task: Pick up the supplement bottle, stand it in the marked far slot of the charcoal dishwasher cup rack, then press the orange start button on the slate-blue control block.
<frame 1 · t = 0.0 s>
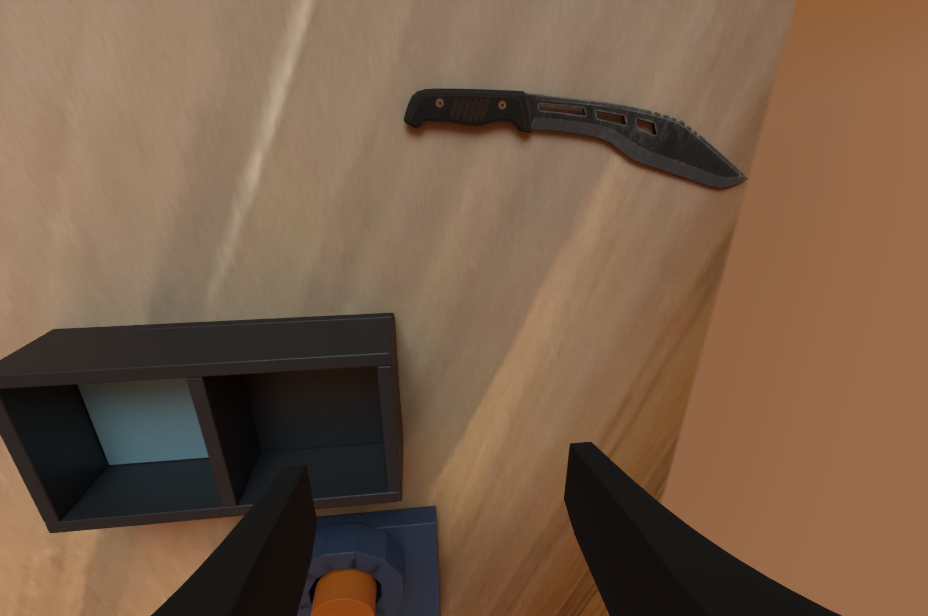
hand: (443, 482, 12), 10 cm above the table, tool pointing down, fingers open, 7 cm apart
control block: (372, 566, 27), on the table
rack: (246, 392, 22), on the table
knife: (582, 180, 19), on the table
start button: (344, 603, 23), point 3 cm above the table, slide at 0.1 cm
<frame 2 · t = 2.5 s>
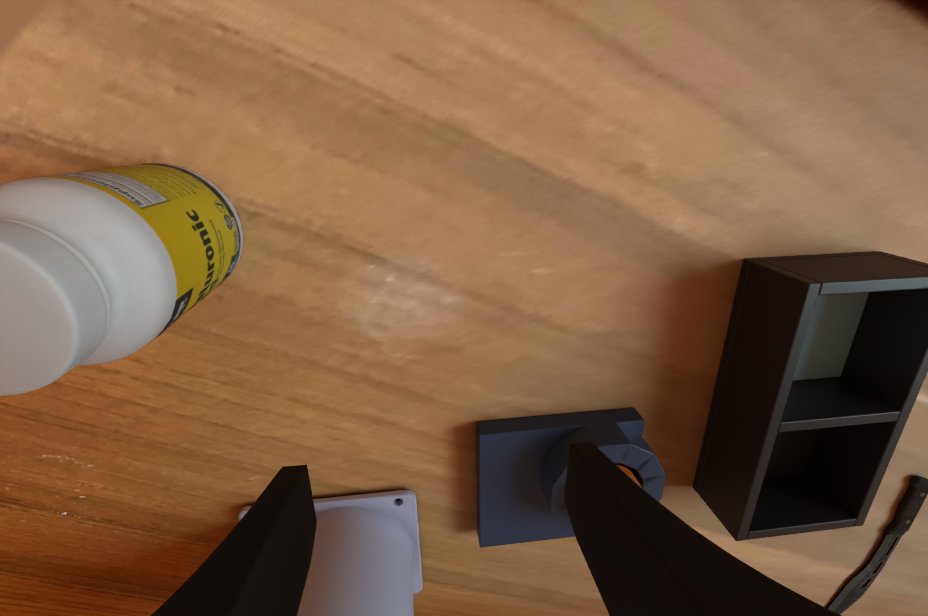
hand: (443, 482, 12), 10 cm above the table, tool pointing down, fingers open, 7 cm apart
control block: (552, 471, 26), on the table
rack: (777, 380, 26), on the table
knife: (849, 561, 32), on the table
supplement bottle: (181, 228, 19), on the table
start button: (612, 500, 23), point 3 cm above the table, slide at 0.1 cm
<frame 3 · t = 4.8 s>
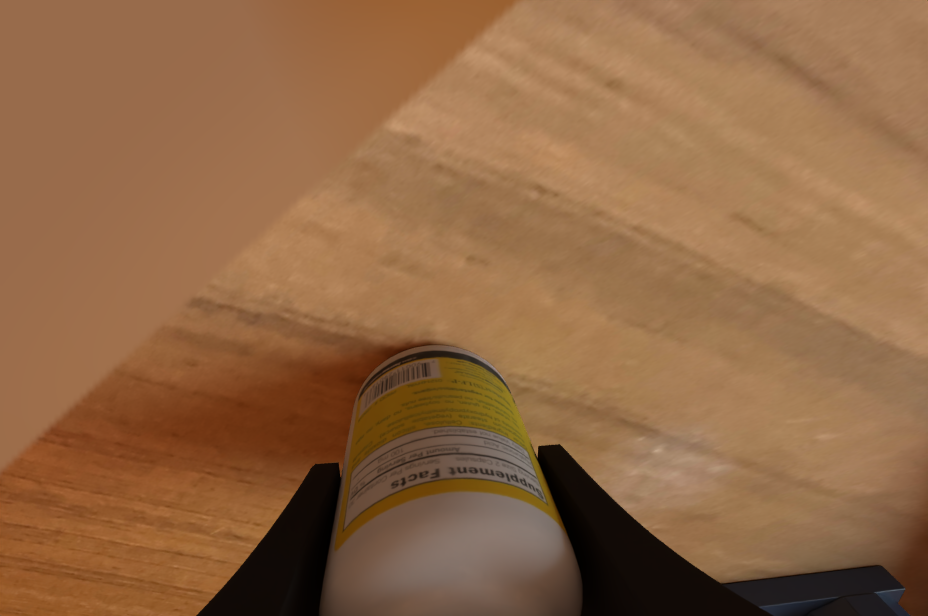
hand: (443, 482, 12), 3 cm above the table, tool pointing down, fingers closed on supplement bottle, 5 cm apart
supplement bottle: (434, 405, 16), on the table, touching gripper
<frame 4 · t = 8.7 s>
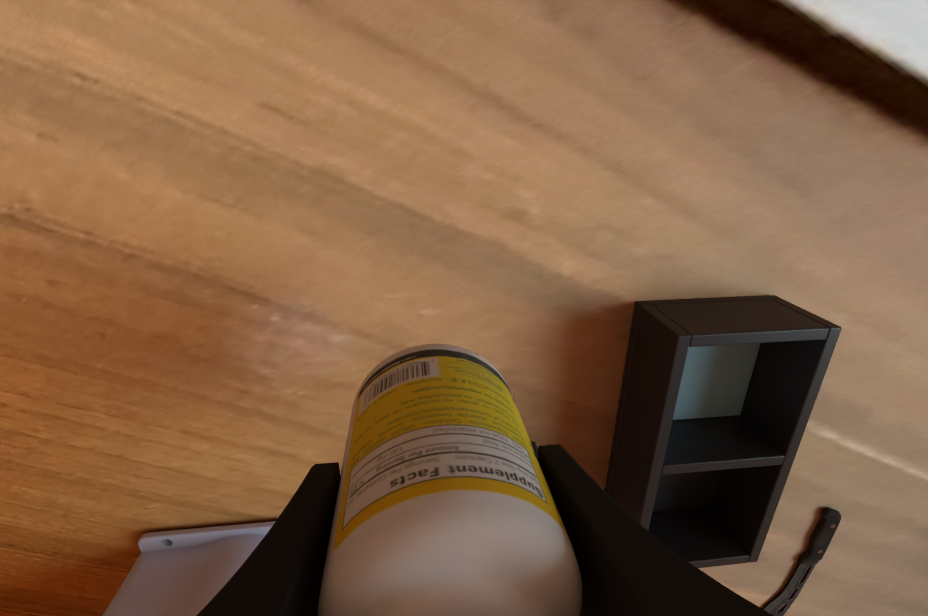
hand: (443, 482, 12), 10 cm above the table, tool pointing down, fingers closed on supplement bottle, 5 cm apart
rack: (679, 416, 26), on the table
knife: (764, 587, 33), on the table
supplement bottle: (434, 404, 16), point 7 cm above the table, touching gripper
when the fingers open (4 cm above the table, at t = 12.9 s): supplement bottle stays where it is, resting on rack.
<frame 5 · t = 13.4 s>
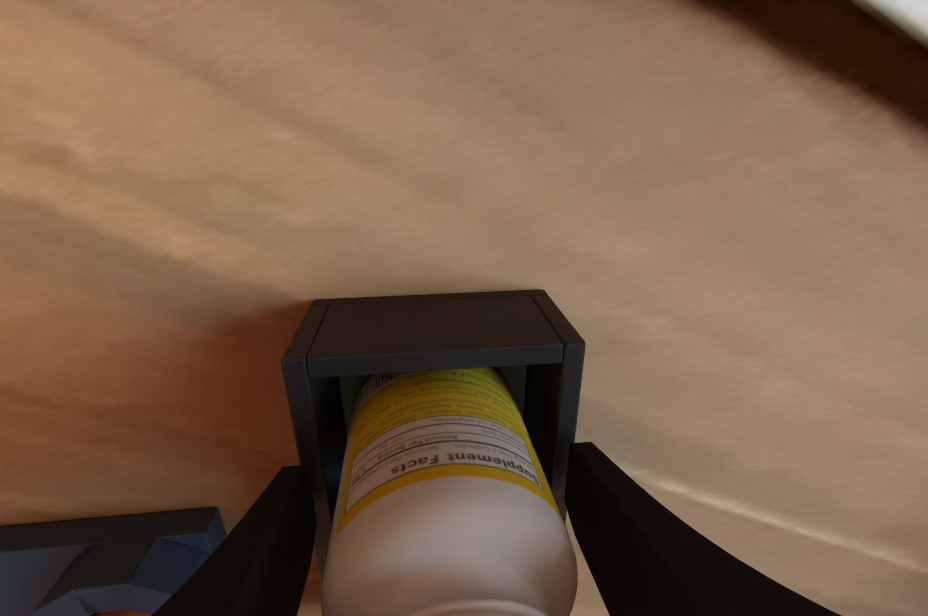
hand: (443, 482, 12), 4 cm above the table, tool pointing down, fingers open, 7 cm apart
control block: (124, 589, 18), on the table
rack: (437, 468, 18), on the table
supplement bottle: (434, 398, 16), point 1 cm above the table, touching rack
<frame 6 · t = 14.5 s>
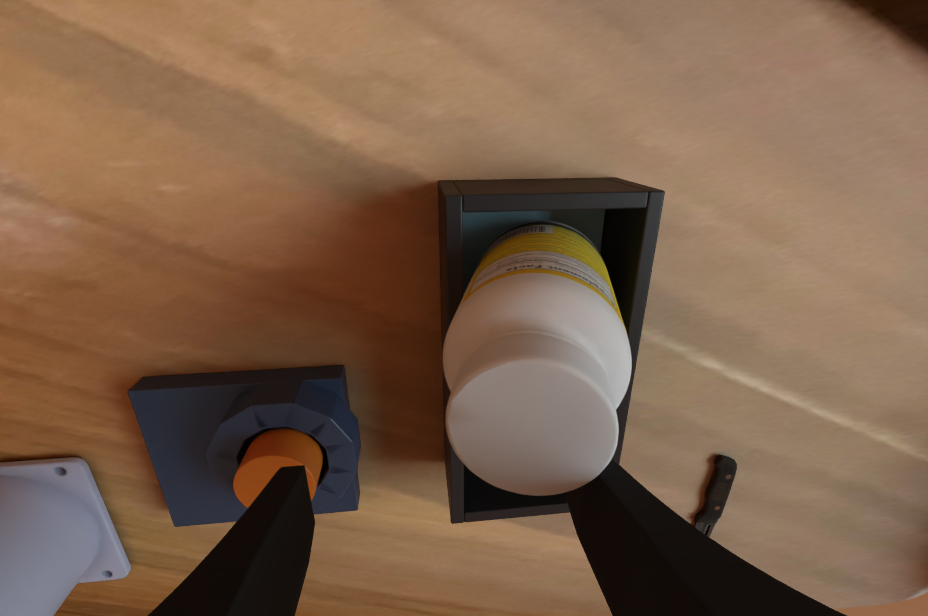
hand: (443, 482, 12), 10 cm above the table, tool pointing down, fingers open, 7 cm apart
control block: (260, 440, 22), on the table
rack: (521, 336, 22), on the table
knife: (658, 551, 29), on the table
supplement bottle: (541, 278, 19), point 1 cm above the table, touching gripper
start button: (280, 471, 19), point 3 cm above the table, slide at 0.1 cm
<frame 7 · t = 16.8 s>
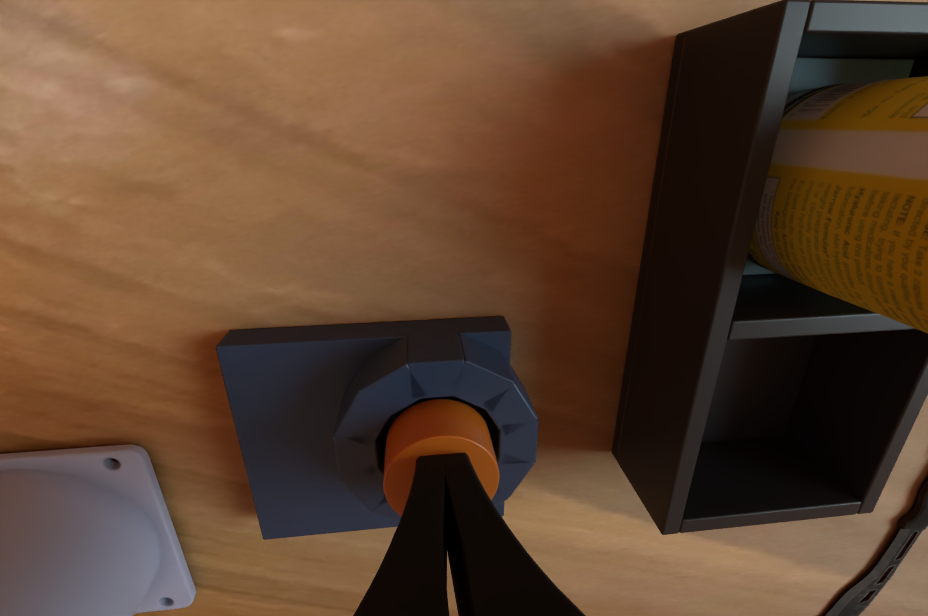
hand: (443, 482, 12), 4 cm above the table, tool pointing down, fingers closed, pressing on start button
control block: (380, 421, 16), on the table
rack: (740, 277, 16), on the table
knife: (845, 565, 23), on the table
supplement bottle: (789, 181, 14), point 1 cm above the table, touching rack
start button: (440, 461, 13), point 3 cm above the table, slide at 0.1 cm, touching gripper
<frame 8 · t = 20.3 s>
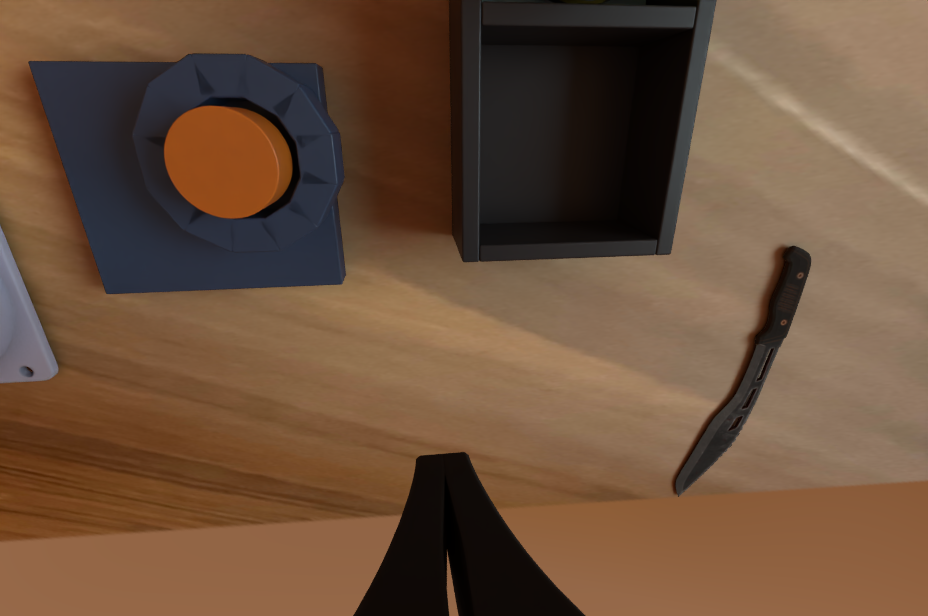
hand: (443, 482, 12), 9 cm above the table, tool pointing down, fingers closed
control block: (217, 182, 17), on the table
rack: (551, 38, 17), on the table
knife: (708, 385, 24), on the table
start button: (233, 162, 14), point 3 cm above the table, slide at 0.1 cm
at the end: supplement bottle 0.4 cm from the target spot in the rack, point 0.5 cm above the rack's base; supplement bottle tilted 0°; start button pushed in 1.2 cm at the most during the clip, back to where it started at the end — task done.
